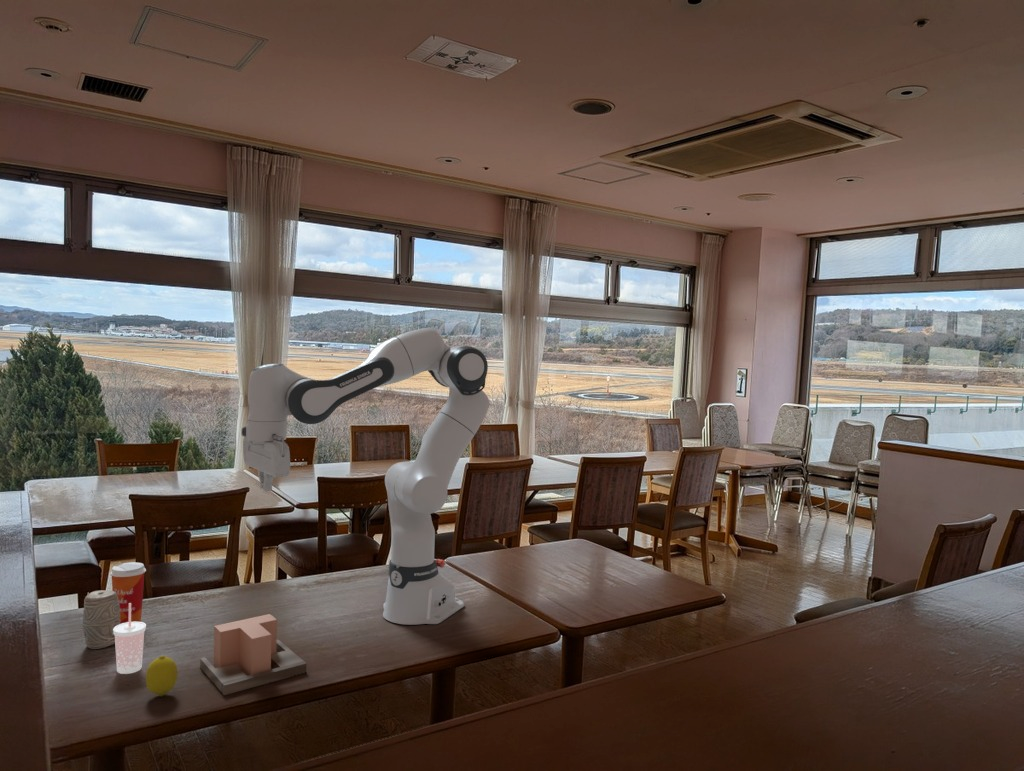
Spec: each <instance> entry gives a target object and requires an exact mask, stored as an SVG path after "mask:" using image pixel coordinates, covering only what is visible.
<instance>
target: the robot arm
mask: <svg viewBox="0 0 1024 771" xmlns="http://www.w3.org/2000/svg"><path fill="white" fill-rule="evenodd" d="M488 366H489V364H488V359H487V357H486V356H485V355H484V353H483V352H482V351H481V350H480V349H477V348H476V347H473V346H470V345H456V346H448V345H447V344H446V343H445V342H444V339H443V337H442V335H440V333H439V332H438V331H437V330H436V329H434V328H432V327H422V328H419V329H418V328H417V329H414V330H410V331H406V332H403V333H401V334H398V335H395V336H393V337H390V338H388V339H386V340H384V341H382V342H380V344H378V345H376V346H375V347H373V348H372V349H370V351H369V354H368V356H367V358H366V359H365V360H364V362H362V363H361V364H359V365H358V366H355V367H354V368H352V369H349V370H348V371H345V372H343V373H340V374H338V375H336V376H334V377H332V378H327V379H318V380H317V379H313V378H310V377H307V376H305V375H302V374H299V373H298V372H296V371H294V370H292V369H290V368H289V367H287V366H286V364H283V363H279V362H277V363H269V364H268V363H267V364H262V365H258V366H256V367H255V368H254V369H252V371H251V373H250V375H249V378H248V386H247V387H248V388H247V403H248V407H249V409H248V415H247V423H246V424H245V425H243V426H242V427H241V430H240V432H241V434H240V435H241V437H243V439H242V452H243V455H242V456H243V461H244V462H243V463H244V465H245V466H247V467H249V468H251V469H254V470H257V475H258V479H259V488H260V489H261V490H262V491H265V492H271V491H272V490H273V482H274V479H275V478H285V477H289V476H290V474H291V454H290V447H289V445H288V443H287V442H286V440H287V430H288V429H287V428H288V427H287V426H288V421H287V420H288V416H292V417H293V418H295V420H297V421H299V422H300V423H303V424H306V425H315V424H320V423H322V422H324V421H325V420H326V419H328V418H329V417H330V416H331V415H332V414H333V413H334V412H335V410H336V409H337V408H339V406H341V405H342V404H343V403H345V402H349V401H350V400H352V399H354V398H356V397H358V396H361V395H363V394H365V393H367V392H369V391H371V390H373V389H376V388H380V387H384V386H387V385H391V384H396V383H399V382H402V381H405V380H408V379H410V378H412V377H415V376H416V375H419V374H421V373H424V372H428V373H429V374H430V375H431V376H432V378H433V380H435V382H437V383H438V385H441V386H442V387H445V388H448V390H449V392H448V397H447V400H446V401H445V403H444V405H443V406H442V407H441V409H440V410H439V412H438V413H437V415H436V416H435V418H434V419H433V421H432V422H431V424H430V425H429V427H428V428H427V430H426V431H425V433H424V434H423V436H422V439H421V443H420V444H421V445H420V448H419V450H418V453H417V456H416V458H415V460H414V461H407V460H406V461H399V462H396V463H393V464H392V465H391V466H390V467H389V468H388V470H387V471H386V473H385V476H384V485H385V489H386V494H387V504H388V511H389V520H390V528H391V541H390V544H391V545H390V547H391V548H390V560H389V562H388V575H389V576H388V580H387V588H386V595H385V602H383V605H382V607H383V611H382V612H383V613H382V617H383V618H384V619H385V620H387V621H389V623H390V622H391V623H394V624H399V625H409V626H410V625H411V626H412V625H425V624H427V625H438V624H440V623H442V622H443V621H444V620H446V619H448V618H449V617H451V616H452V615H453V614H456V612H458V611H459V610H461V609H462V608H464V606H465V603H464V602H463V600H461V599H459V598H458V597H456V588H455V586H454V584H453V582H452V581H450V580H449V579H448V578H446V577H445V576H443V574H441V573H440V572H439V568H441V569H442V568H444V567H445V565H446V561H445V559H440V558H437V559H435V545H436V544H435V540H436V538H435V537H436V536H435V535H436V530H435V527H434V525H433V521H432V520H433V519H432V515H431V514H434V513H436V512H439V511H440V510H441V509H442V508H443V506H444V505H445V503H446V501H447V499H448V488H449V484H450V482H451V479H452V476H453V473H454V471H455V469H456V466H457V464H458V463H459V460H461V459H460V458H461V457H462V456H463V454H464V452H465V451H466V449H467V447H468V446H469V444H470V443H471V441H472V440H473V438H474V437H475V435H476V433H477V432H478V431H479V428H480V427H481V425H482V423H483V421H484V419H485V417H486V414H487V412H488V410H489V407H490V400H489V397H488V395H487V394H486V393H485V392H484V389H485V386H486V378H487V374H488V369H489V367H488Z"/></svg>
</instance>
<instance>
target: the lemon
mask: <svg viewBox="0 0 1024 771" xmlns="http://www.w3.org/2000/svg"><path fill="white" fill-rule="evenodd" d="M177 680H178V667H177V664H176V662H175V661H174V660H173V659H172V658H171V657H170V656H169V657H168V656H165V655H160V656H158V657H157V658H155V659H153V660H152V661H151V662H150V663H149V665H148V667H147V669H146V675H145V683H146V687H147V690H149V692H151V693H152V694H154V695H157V696H159V697H163V696H164V695H165V694H167V693H169V692H170V691H172V690H173V688H174V686H175V685H176V683H177Z"/></svg>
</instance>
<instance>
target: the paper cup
mask: <svg viewBox="0 0 1024 771" xmlns="http://www.w3.org/2000/svg"><path fill="white" fill-rule="evenodd" d="M145 572H147V569H146V568H145V565H144V563H142V562H138V561H137V562H133V561H132V562H123V563H120V564H116V565H114V566H113V567H112V568H111V571H110V573H109V574H110V576H111V588H112V590H111V591H114V592H116V594H117V595H118V596H117V597H118V601H119V606H120V609H119V612H120V624H122V623H126V622H129V603H131V622H134V621H136V622H142V612H143V611H142V610H143V600H144V584H145Z"/></svg>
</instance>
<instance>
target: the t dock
mask: <svg viewBox="0 0 1024 771" xmlns="http://www.w3.org/2000/svg"><path fill="white" fill-rule="evenodd" d="M199 660H200V661H199V668H200V670H201V671H202V672H203V673H204V674H205V675H206V676H207V677H208V679H209V680H210V681H211V682H212V683H213V684H214V686H215V687H216V688H217V689H218V690H219V692H220V693H221V694H222V695H223V696H227V695H231V694H234V693H239V692H242V691H246V690H248V689H252V688H256V687H260V686H262V685H267V684H270V682H271V683H274V682H277V681H281V680H284V679H285V680H286V679H288V678H292V677H295V676H294V675H296V676H298V674H299V675H302V673H303V674H306V673H307V662H306V661H304V659H302V658H301V657H300V656H299V655H297V654H296V652H294V651H292V650H291V648H289V647H288V646H287V645H285V644H284V643H283V642H282V641H281V640H280V639H277V643H276V653H274V654H271V670H267V671H263V672H260V673H256V674H252V675H248V676H247V675H246V674H245V673H244V672H243V671H242V670H241V669H240V668H239V667H238V666H237V665H236V664H235V663H234V664H230V665H226V666H222V667H219V668H214V664H212V662H210V661H209V660H208V659H207V658H206V657H205V656H204V657H201V658H199ZM305 672H306V673H305ZM291 676H292V677H291Z"/></svg>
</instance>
